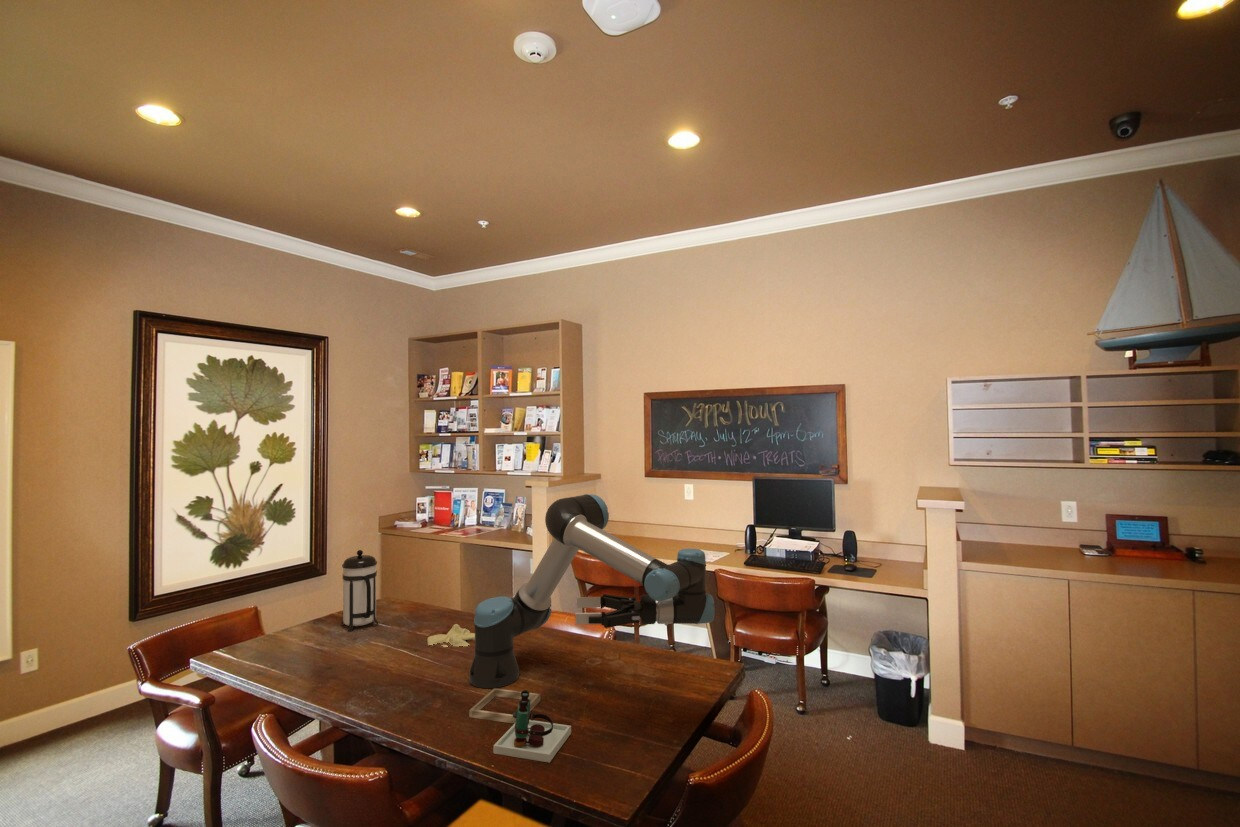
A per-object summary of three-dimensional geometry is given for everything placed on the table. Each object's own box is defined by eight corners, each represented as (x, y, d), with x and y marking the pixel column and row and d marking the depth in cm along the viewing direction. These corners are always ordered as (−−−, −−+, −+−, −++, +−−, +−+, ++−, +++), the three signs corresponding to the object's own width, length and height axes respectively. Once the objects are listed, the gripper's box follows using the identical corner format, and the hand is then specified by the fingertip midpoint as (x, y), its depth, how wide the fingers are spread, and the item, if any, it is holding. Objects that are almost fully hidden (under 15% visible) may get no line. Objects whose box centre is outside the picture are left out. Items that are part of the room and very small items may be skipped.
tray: (493, 753, 135) (493, 745, 135) (519, 725, 148) (519, 718, 148) (549, 762, 131) (549, 754, 131) (571, 733, 144) (571, 725, 144)
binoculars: (555, 706, 136) (512, 704, 135) (550, 751, 135) (508, 749, 135) (556, 689, 145) (516, 687, 144) (552, 731, 144) (512, 729, 144)
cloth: (416, 643, 209) (416, 626, 209) (456, 629, 224) (456, 613, 224) (456, 656, 196) (456, 638, 197) (496, 640, 212) (496, 623, 212)
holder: (469, 717, 153) (469, 710, 153) (494, 694, 166) (494, 688, 166) (518, 724, 148) (518, 717, 149) (540, 700, 161) (540, 694, 162)
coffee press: (328, 632, 221) (328, 554, 222) (354, 618, 237) (354, 546, 238) (369, 634, 218) (369, 555, 219) (392, 620, 234) (392, 546, 235)
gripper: (661, 640, 140) (574, 642, 139) (651, 608, 165) (577, 609, 164) (661, 610, 140) (574, 611, 139) (651, 582, 165) (577, 583, 164)
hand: (576, 610), depth 152 cm, fingers open, 13 cm apart
